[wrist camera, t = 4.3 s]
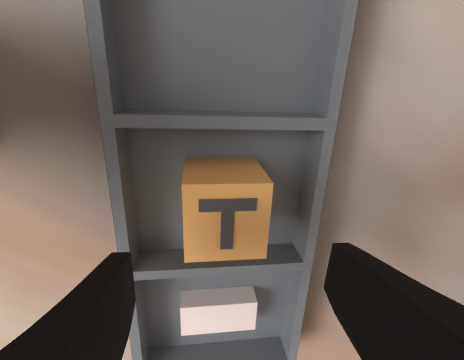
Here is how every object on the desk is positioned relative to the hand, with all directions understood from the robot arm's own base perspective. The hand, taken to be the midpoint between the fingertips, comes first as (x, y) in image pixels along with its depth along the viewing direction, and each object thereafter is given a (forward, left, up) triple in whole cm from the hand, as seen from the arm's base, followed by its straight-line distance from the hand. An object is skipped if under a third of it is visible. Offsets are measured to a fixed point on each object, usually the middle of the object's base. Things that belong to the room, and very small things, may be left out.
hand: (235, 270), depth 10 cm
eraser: (0, -8, -7) cm, 11 cm away
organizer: (0, 0, -7) cm, 7 cm away
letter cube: (0, 0, -7) cm, 7 cm away
